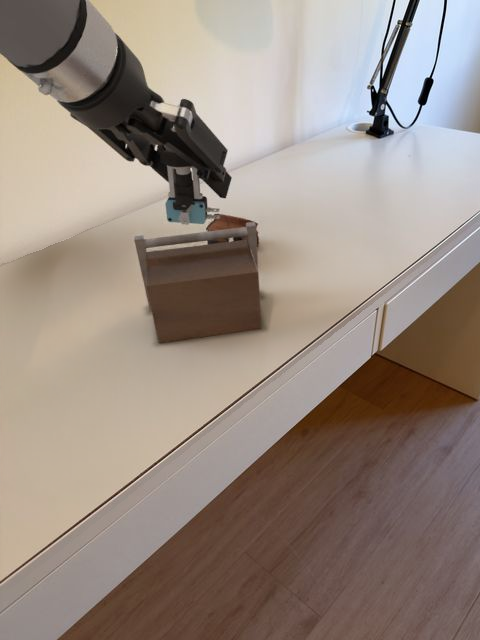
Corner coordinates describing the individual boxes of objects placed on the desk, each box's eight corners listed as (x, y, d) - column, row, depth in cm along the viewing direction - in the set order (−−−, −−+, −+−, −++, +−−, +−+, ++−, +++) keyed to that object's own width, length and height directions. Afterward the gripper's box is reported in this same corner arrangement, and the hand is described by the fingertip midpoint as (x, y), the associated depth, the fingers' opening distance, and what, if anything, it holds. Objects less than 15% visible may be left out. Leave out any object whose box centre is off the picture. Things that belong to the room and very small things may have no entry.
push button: (223, 212, 67) (219, 130, 60) (215, 232, 63) (211, 147, 56) (171, 209, 67) (162, 128, 61) (161, 228, 63) (150, 144, 57)
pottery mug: (190, 259, 89) (199, 209, 87) (237, 267, 94) (246, 220, 93) (224, 270, 79) (235, 215, 78) (274, 278, 85) (286, 227, 83)
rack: (149, 307, 77) (134, 235, 70) (258, 292, 79) (254, 221, 72) (150, 344, 70) (133, 269, 63) (269, 327, 72) (266, 252, 65)
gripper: (-9, 100, 47) (136, 203, 69) (162, 115, 40) (263, 224, 62) (15, 21, 47) (152, 148, 69) (189, 24, 41) (280, 164, 62)
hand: (204, 184), depth 65 cm, fingers closed on push button, 5 cm apart
